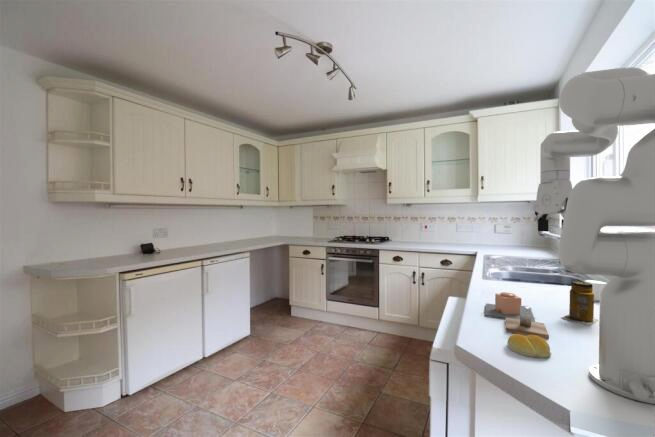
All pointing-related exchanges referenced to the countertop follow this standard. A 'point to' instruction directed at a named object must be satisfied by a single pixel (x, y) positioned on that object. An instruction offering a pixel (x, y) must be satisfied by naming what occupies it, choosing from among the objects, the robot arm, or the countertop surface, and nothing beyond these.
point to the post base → (526, 328)
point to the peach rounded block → (507, 303)
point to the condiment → (581, 303)
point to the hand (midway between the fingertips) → (554, 231)
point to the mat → (492, 312)
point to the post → (525, 316)
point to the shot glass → (596, 288)
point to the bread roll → (529, 345)
